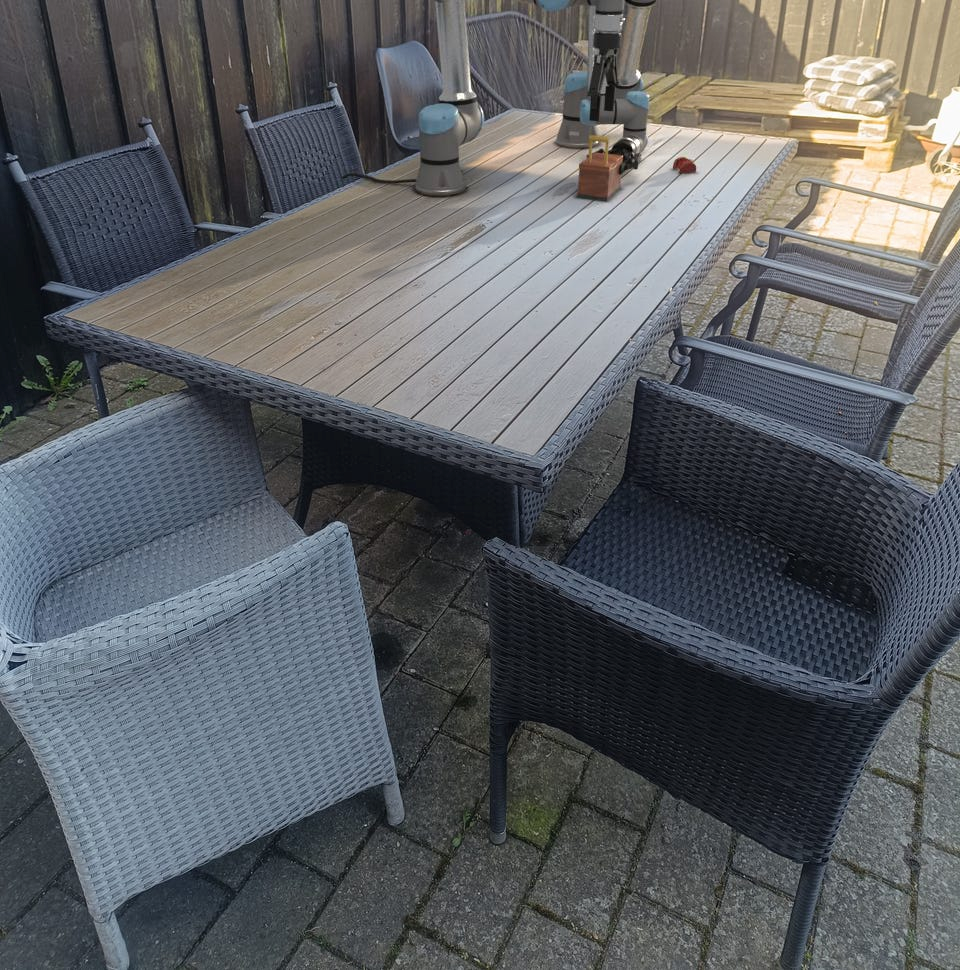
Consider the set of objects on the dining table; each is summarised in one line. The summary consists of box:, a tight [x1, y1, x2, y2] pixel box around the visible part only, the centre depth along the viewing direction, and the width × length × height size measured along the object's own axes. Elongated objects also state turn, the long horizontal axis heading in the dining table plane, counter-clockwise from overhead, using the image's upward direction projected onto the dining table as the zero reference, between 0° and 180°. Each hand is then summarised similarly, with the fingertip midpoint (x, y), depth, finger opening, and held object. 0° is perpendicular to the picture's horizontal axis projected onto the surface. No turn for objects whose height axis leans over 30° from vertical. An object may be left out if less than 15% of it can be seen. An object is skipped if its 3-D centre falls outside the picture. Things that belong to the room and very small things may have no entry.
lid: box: [578, 135, 623, 171], centre depth 248 cm, size 14×9×9 cm, turn 156°
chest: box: [576, 160, 623, 202], centre depth 253 cm, size 14×9×9 cm
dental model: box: [672, 156, 697, 174], centre depth 274 cm, size 6×4×8 cm
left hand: (601, 115), depth 239 cm, fingers open, 13 cm apart
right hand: (604, 168), depth 255 cm, fingers closed on chest, 9 cm apart
